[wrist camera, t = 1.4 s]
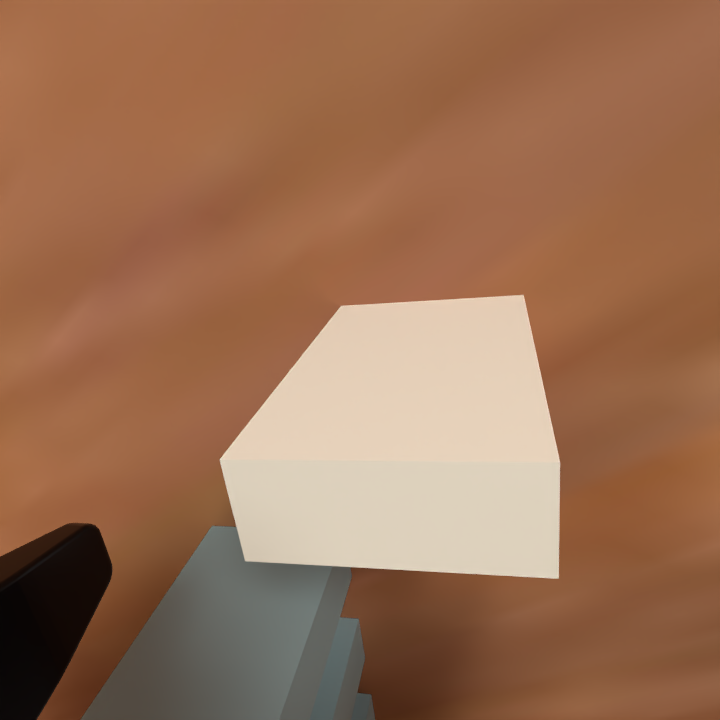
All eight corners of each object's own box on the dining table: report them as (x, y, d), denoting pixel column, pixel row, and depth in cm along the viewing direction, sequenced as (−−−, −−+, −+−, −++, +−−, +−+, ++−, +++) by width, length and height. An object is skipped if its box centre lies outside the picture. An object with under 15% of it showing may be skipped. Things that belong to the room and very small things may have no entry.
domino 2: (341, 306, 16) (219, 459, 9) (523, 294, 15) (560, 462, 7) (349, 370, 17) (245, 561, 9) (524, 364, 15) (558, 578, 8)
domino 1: (212, 525, 20) (59, 750, 13) (344, 531, 19) (257, 781, 12) (223, 569, 21) (85, 803, 14) (351, 576, 20) (274, 837, 12)
